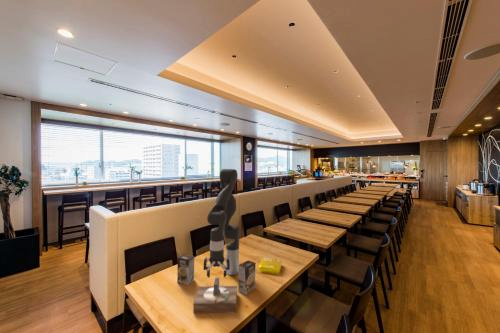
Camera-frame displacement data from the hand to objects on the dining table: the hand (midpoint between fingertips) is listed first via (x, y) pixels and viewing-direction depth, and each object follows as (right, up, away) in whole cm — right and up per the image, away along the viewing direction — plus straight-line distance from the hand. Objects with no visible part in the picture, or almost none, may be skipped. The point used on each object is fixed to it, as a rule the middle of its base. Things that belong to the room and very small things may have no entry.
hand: (216, 276), depth 116 cm
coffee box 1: (-24, -15, +22) cm, 35 cm away
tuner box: (0, -15, 0) cm, 15 cm away
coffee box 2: (+17, -15, +13) cm, 26 cm away
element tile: (+34, -15, +39) cm, 54 cm away
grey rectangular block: (0, -9, -1) cm, 9 cm away
